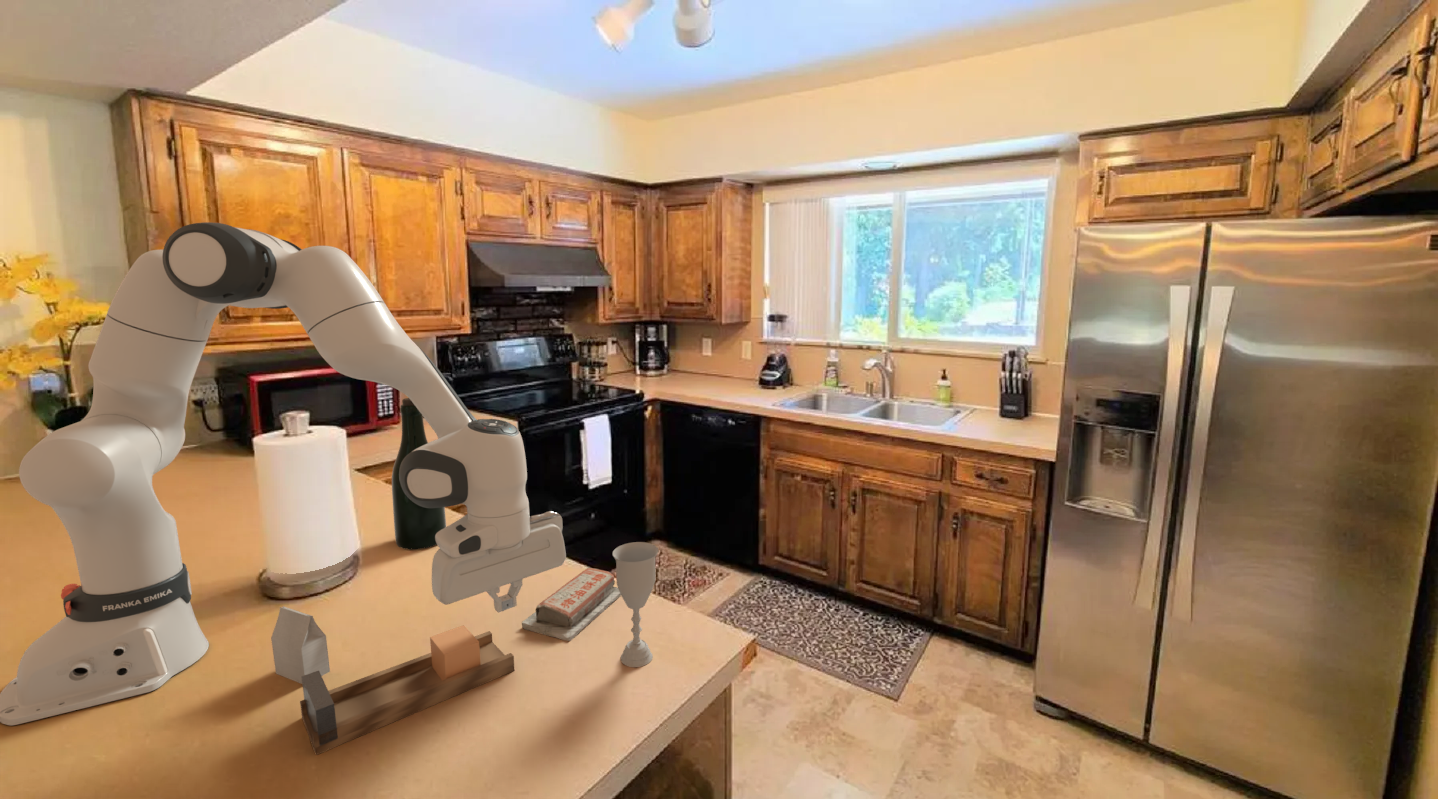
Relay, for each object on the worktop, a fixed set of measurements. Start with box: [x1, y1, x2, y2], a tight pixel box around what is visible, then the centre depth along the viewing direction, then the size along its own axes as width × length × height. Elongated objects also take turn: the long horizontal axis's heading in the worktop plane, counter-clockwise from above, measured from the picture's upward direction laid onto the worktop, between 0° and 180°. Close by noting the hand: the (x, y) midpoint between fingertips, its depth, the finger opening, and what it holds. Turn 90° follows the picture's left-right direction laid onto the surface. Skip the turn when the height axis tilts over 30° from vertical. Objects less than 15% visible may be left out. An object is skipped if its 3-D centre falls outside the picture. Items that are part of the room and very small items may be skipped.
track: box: [299, 630, 515, 755], centre depth 89 cm, size 26×9×2 cm, turn 133°
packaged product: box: [521, 567, 622, 642], centre depth 112 cm, size 18×5×10 cm
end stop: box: [301, 671, 338, 746], centre depth 81 cm, size 2×9×5 cm, turn 43°
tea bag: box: [271, 605, 331, 685], centre depth 93 cm, size 4×7×10 cm, turn 67°
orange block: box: [429, 625, 481, 680], centre depth 93 cm, size 5×6×5 cm
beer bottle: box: [391, 397, 447, 551], centre depth 137 cm, size 10×10×33 cm
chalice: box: [612, 541, 659, 668], centre depth 97 cm, size 7×7×18 cm
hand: (505, 608), depth 97 cm, fingers closed
